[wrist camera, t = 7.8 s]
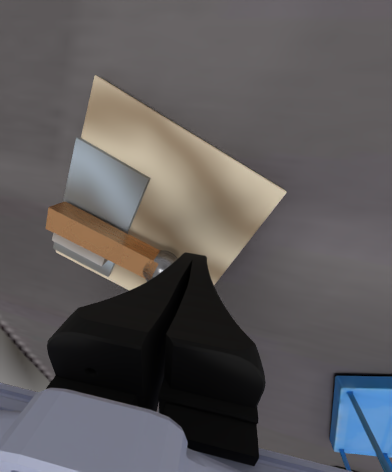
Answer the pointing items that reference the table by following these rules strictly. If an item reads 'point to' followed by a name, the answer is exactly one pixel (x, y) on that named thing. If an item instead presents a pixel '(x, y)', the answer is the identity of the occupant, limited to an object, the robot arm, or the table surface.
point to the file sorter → (363, 418)
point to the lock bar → (107, 241)
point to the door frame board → (160, 187)
